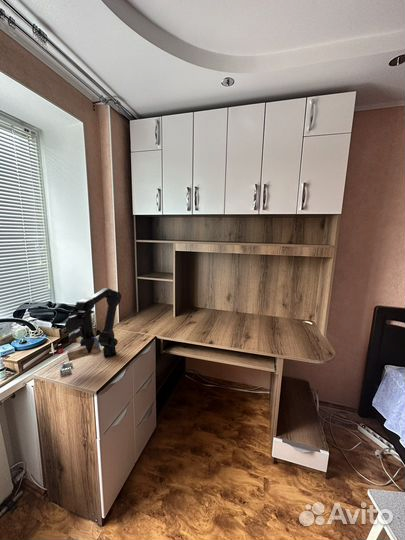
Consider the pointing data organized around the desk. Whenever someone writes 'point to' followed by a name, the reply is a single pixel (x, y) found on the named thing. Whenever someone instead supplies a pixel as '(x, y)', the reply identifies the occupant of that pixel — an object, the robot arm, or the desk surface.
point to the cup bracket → (67, 370)
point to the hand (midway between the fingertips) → (89, 351)
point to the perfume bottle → (97, 342)
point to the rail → (81, 352)
